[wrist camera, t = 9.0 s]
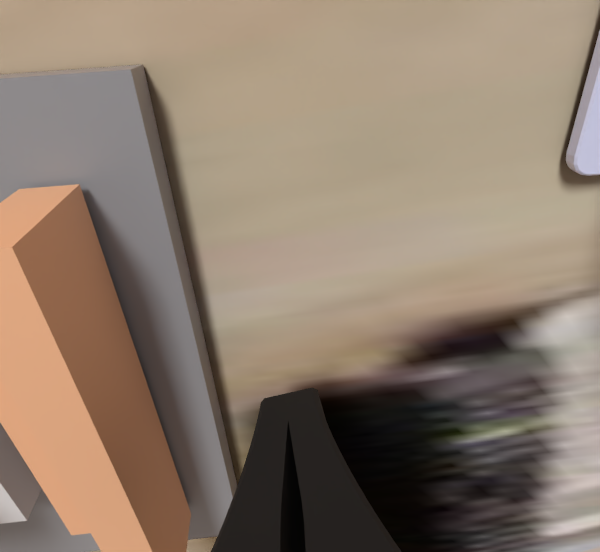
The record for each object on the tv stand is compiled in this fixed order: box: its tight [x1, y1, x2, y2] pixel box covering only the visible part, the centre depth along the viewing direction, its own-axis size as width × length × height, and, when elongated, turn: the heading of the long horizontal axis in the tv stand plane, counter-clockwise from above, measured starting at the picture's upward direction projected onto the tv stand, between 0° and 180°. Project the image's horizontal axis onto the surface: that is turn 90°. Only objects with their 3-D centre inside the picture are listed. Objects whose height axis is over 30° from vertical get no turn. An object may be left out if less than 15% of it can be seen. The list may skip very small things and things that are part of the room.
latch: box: [0, 184, 191, 552], centre depth 11 cm, size 2×12×3 cm, turn 3°
